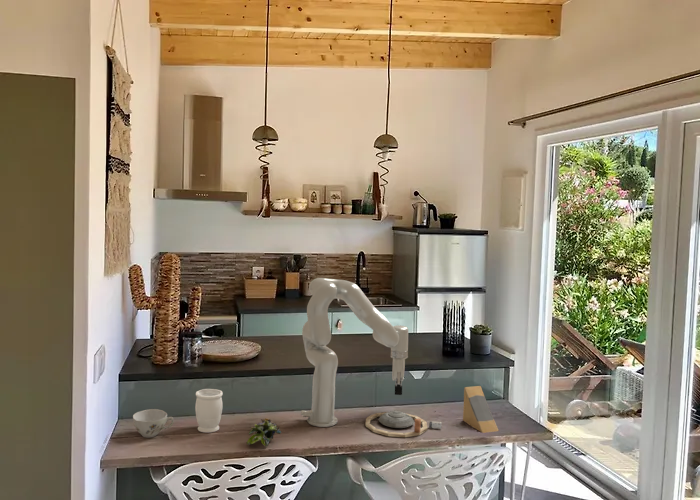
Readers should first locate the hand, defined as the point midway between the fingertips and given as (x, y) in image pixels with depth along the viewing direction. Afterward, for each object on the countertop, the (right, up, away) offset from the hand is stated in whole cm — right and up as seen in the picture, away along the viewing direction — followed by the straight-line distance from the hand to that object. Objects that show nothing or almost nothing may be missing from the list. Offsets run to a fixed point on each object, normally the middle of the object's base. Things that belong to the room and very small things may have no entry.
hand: (398, 394), depth 268 cm
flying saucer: (-2, -10, -12) cm, 16 cm away
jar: (-78, -8, -27) cm, 83 cm away
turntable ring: (-2, -10, -15) cm, 18 cm away
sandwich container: (+34, -11, -11) cm, 38 cm away
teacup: (-98, -8, -35) cm, 104 cm away
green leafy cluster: (-54, -10, -40) cm, 68 cm away
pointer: (+15, -10, -16) cm, 24 cm away
